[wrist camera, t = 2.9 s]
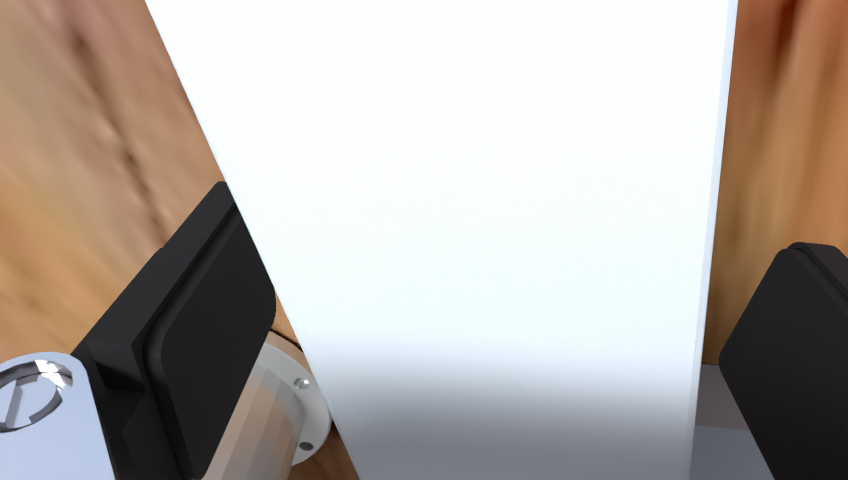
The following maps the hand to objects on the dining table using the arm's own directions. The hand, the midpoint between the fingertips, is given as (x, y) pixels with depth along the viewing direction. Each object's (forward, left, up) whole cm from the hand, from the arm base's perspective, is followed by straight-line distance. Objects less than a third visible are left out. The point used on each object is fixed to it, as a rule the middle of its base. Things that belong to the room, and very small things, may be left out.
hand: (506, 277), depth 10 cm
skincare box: (0, 0, -13) cm, 13 cm away
